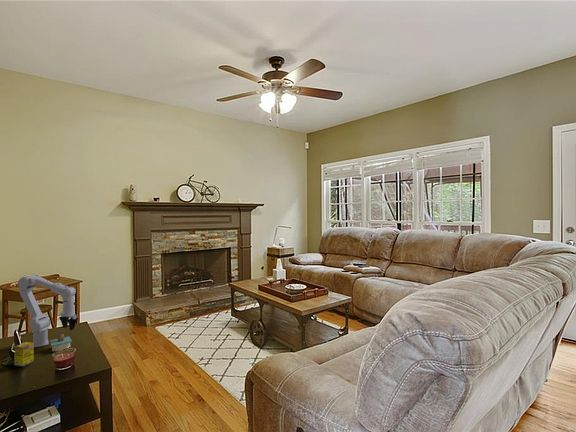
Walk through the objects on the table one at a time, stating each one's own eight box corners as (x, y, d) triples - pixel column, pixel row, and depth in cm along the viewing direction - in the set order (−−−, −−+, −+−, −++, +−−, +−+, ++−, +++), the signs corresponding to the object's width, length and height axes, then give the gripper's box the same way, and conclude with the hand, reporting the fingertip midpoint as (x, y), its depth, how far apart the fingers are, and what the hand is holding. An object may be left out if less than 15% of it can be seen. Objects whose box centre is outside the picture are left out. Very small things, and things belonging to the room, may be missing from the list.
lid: (49, 341, 195) (49, 333, 195) (69, 337, 201) (69, 329, 201) (51, 346, 187) (51, 338, 187) (72, 342, 194) (72, 334, 194)
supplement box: (23, 367, 170) (23, 347, 170) (14, 366, 171) (14, 346, 171) (34, 362, 176) (34, 342, 176) (25, 361, 177) (25, 341, 177)
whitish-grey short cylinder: (51, 347, 195) (51, 341, 195) (69, 344, 201) (69, 337, 201) (52, 352, 188) (52, 346, 188) (70, 349, 194) (70, 342, 194)
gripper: (55, 307, 201) (55, 328, 201) (68, 310, 194) (68, 332, 194) (67, 304, 207) (67, 325, 207) (80, 307, 200) (80, 329, 200)
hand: (68, 328), depth 201 cm, fingers open, 7 cm apart
